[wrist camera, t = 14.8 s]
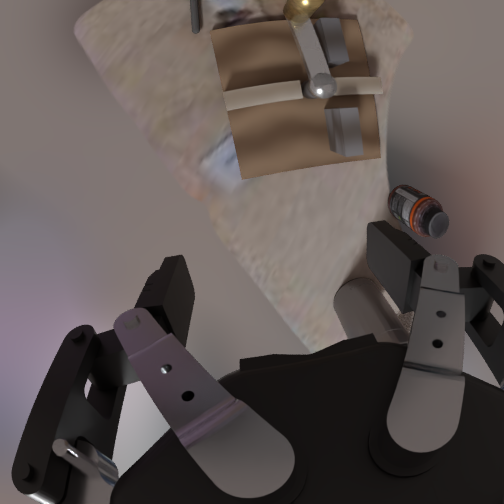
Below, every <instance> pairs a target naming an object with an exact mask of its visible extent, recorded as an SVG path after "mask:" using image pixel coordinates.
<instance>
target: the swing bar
mask: <svg viewBox="0 0 504 504" xmlns="http://www.w3.org/2000/svg"><path fill="white" fill-rule="evenodd" d="M324 1H325V0H287V2H286V4H285V6H284V8H283V13H284V15H285V17H286V20H287V22H288V24H289V27H290V29H291V32H292V34H293V37H294V39H295V42H296V45H297V47H298V50H299V52H300V55H301V58H302V61H303V64H304V66H305V69H306V72H307V75H308V78H309V82H308V88H309V91H310V92H311V94H312V95H313V96H315V97H317V98H320V99H325V98H330V97H332V96H333V95H334V94H335V93H336V91H337V83H336V80H335V79H334V78H333V77H332V76H331V74H330V71H329V68H328V65H327V62H326V59H325V57H324V54H323V51H322V48H321V46H320V43H319V40H318V38H317V35H316V33H315V30H314V28H313V25H312V23H311V20H310V17H311V16H312V15H313V13H314V12H315V11H316V10H317V9H318V8H319V7H320V5H321V4H322V3H323V2H324Z"/></svg>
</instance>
